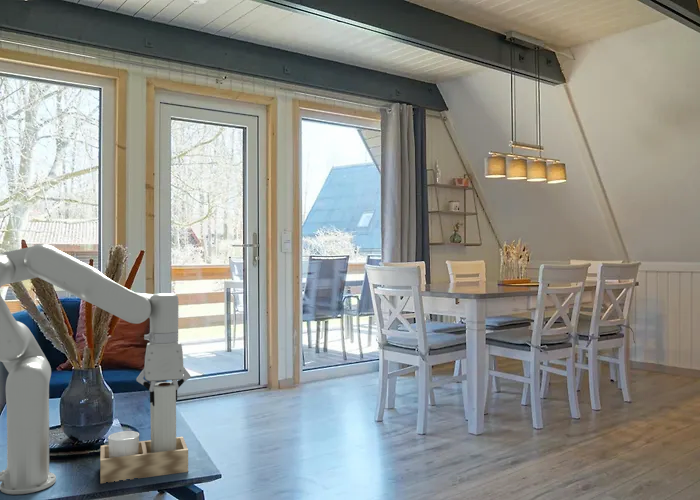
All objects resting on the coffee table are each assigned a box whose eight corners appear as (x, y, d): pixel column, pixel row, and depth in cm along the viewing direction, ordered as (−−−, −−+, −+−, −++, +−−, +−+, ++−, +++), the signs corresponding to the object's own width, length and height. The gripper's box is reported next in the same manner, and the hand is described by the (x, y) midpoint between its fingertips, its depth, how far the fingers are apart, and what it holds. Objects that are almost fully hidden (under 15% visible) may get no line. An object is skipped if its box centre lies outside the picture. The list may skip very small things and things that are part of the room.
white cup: (129, 464, 169) (129, 429, 169) (144, 471, 164) (145, 434, 164) (102, 472, 163) (102, 436, 163) (117, 480, 158) (117, 442, 158)
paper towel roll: (178, 461, 166) (178, 385, 165) (156, 466, 163) (155, 387, 162) (172, 453, 172) (172, 379, 171) (150, 457, 169) (150, 381, 168)
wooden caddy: (100, 483, 155) (100, 460, 155) (100, 467, 167) (100, 445, 167) (188, 471, 164) (188, 449, 164) (182, 457, 175) (182, 436, 175)
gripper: (132, 341, 160) (131, 410, 160) (197, 338, 166) (196, 404, 167) (131, 337, 167) (130, 403, 167) (193, 334, 173) (193, 398, 174)
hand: (163, 403), depth 167 cm, fingers closed on paper towel roll, 4 cm apart
